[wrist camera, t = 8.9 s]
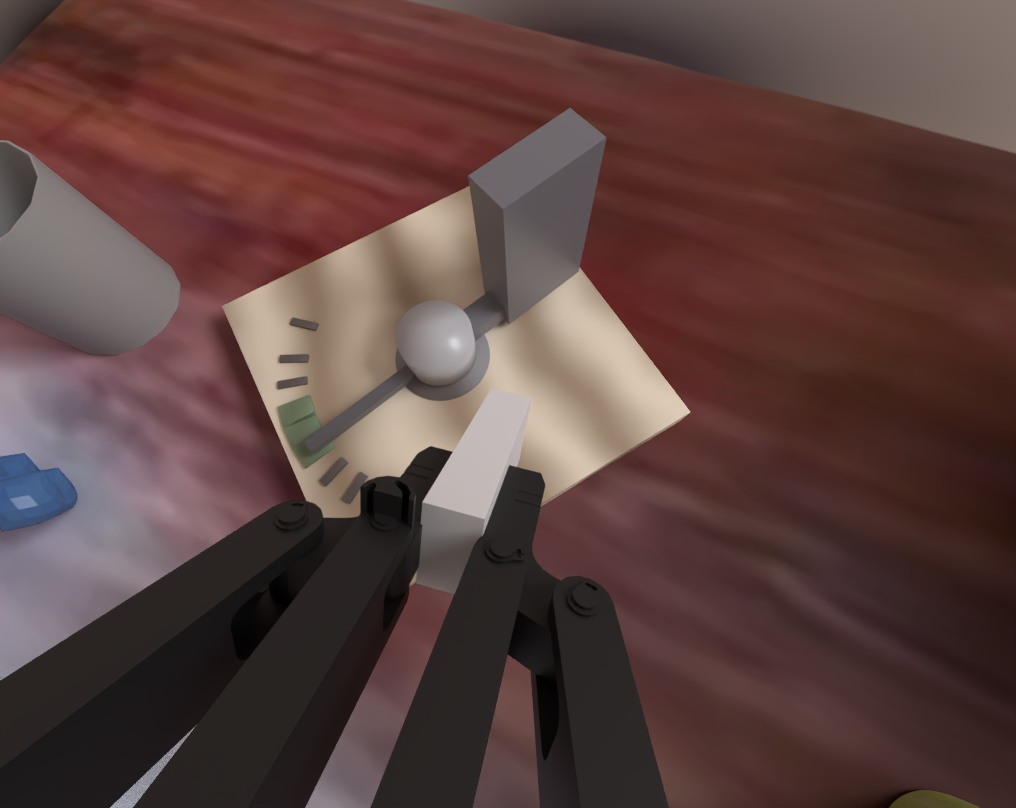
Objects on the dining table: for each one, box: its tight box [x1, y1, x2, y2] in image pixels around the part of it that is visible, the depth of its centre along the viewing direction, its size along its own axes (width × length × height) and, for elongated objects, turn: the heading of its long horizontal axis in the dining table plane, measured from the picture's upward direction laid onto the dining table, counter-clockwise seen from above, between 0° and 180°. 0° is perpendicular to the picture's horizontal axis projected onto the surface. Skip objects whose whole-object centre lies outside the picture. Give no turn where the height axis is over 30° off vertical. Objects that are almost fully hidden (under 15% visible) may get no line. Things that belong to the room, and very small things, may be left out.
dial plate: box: [222, 186, 690, 587], centre depth 29 cm, size 22×22×2 cm
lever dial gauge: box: [303, 108, 606, 454], centre depth 23 cm, size 20×4×10 cm, turn 130°
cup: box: [0, 140, 180, 356], centre depth 27 cm, size 8×8×10 cm
